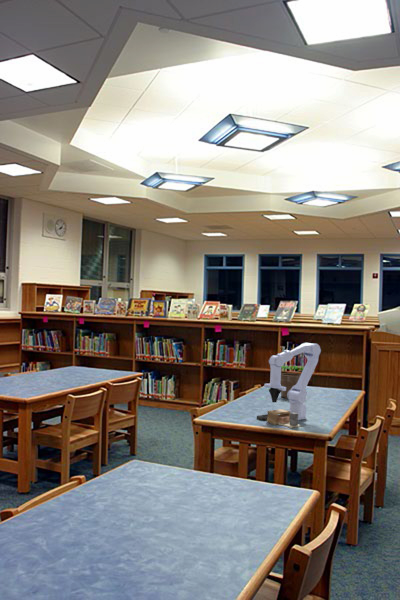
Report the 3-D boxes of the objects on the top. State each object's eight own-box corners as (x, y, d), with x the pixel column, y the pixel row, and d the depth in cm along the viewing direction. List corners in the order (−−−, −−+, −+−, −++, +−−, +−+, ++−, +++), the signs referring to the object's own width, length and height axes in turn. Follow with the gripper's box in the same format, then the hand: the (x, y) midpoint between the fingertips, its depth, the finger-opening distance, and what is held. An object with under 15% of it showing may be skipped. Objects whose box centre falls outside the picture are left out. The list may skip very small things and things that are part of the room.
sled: (275, 419, 286) (275, 407, 286) (300, 426, 273) (300, 413, 273) (266, 421, 282) (267, 408, 282) (291, 427, 268) (291, 414, 268)
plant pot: (277, 394, 374) (278, 372, 374) (300, 396, 372) (301, 373, 372) (278, 398, 358) (279, 375, 358) (301, 400, 355) (303, 376, 356)
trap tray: (267, 417, 292) (268, 414, 292) (274, 419, 288) (274, 415, 288) (256, 418, 286) (256, 415, 286) (263, 420, 282) (263, 417, 282)
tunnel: (281, 420, 286) (281, 409, 286) (289, 422, 281) (290, 411, 281) (267, 422, 278) (267, 410, 278) (275, 424, 274) (276, 413, 274)
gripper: (260, 376, 289) (259, 400, 288) (280, 379, 277) (279, 405, 277) (269, 375, 293) (268, 399, 293) (289, 379, 282) (288, 403, 282)
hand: (274, 402), depth 285 cm, fingers closed
